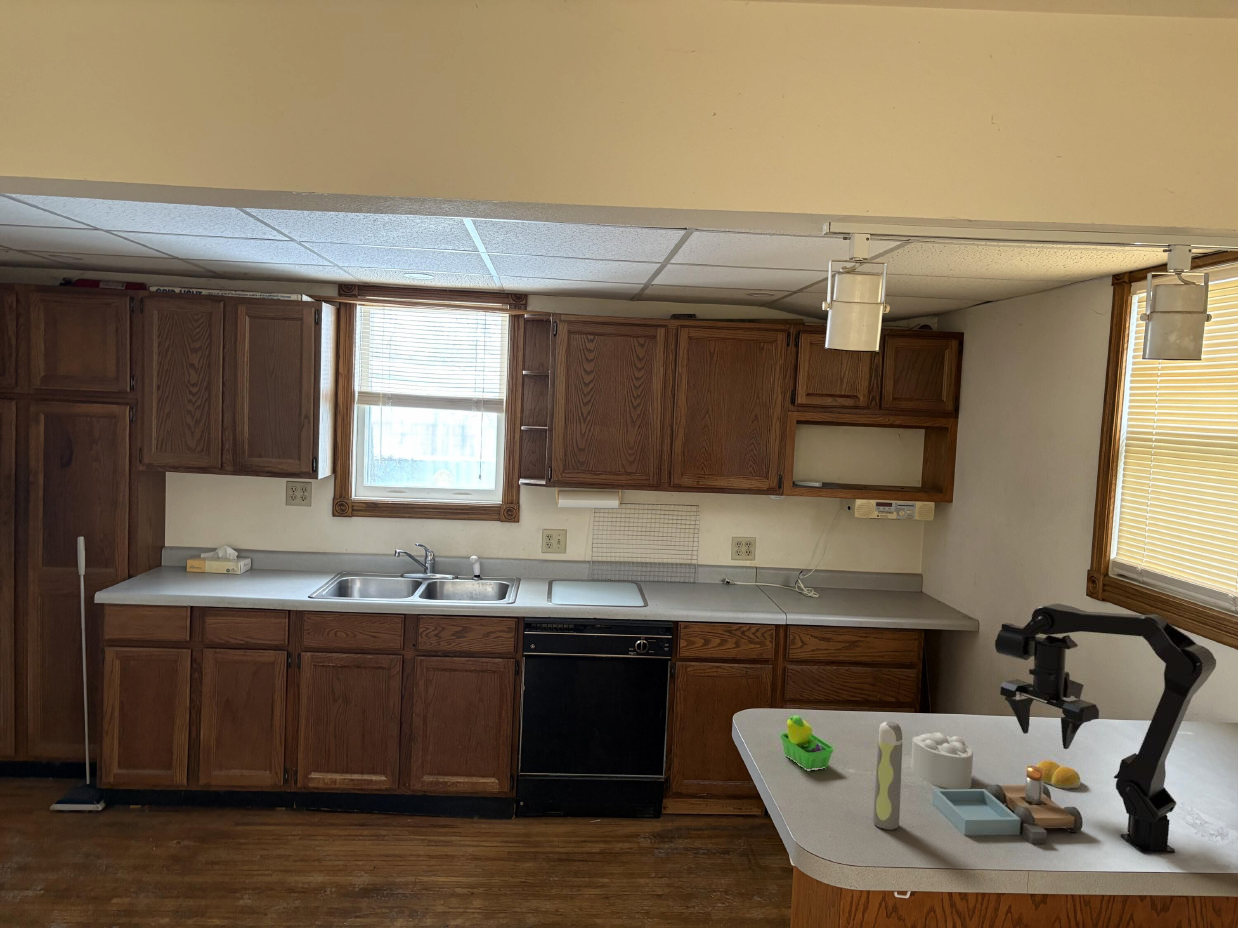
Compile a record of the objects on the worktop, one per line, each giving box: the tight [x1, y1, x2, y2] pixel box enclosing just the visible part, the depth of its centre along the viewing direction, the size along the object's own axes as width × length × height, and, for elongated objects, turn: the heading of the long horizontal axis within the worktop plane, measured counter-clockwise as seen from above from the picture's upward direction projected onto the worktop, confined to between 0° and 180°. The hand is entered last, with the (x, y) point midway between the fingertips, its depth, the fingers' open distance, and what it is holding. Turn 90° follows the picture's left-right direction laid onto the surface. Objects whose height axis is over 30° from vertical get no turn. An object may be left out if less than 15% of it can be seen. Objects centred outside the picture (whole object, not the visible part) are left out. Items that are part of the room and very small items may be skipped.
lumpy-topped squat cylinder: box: [910, 731, 974, 789], centre depth 186 cm, size 10×13×9 cm
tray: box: [932, 788, 1021, 836], centre depth 167 cm, size 13×11×3 cm
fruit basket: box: [779, 715, 835, 769], centre depth 191 cm, size 11×9×11 cm
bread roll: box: [1036, 759, 1081, 790], centre depth 186 cm, size 8×9×4 cm
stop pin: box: [1025, 765, 1044, 805], centre depth 168 cm, size 3×3×10 cm
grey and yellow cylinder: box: [872, 720, 903, 831], centre depth 162 cm, size 5×5×20 cm
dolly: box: [986, 783, 1084, 845], centre depth 166 cm, size 17×12×4 cm
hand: (1045, 740), depth 174 cm, fingers open, 9 cm apart
